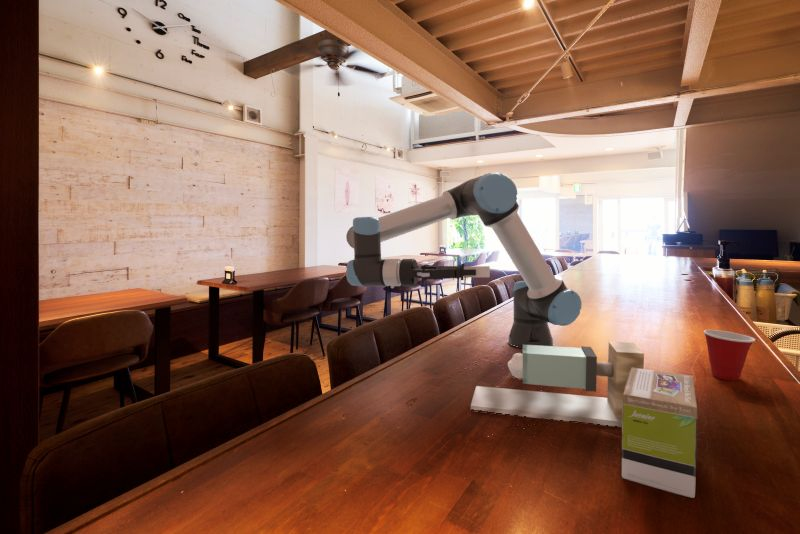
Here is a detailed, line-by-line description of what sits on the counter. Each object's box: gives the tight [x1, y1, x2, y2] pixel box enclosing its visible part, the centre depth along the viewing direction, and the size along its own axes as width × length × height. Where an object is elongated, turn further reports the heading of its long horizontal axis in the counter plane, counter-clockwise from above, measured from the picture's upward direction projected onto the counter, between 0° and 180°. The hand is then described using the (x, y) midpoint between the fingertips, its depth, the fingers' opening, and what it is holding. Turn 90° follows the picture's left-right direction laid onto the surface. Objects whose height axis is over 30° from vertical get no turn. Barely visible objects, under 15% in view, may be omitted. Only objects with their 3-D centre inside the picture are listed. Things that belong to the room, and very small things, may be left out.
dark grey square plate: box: [580, 346, 598, 393], centre depth 88 cm, size 2×8×8 cm, turn 163°
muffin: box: [507, 352, 523, 378], centre depth 110 cm, size 6×6×7 cm
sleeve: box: [522, 345, 586, 390], centre depth 90 cm, size 13×7×7 cm, turn 73°
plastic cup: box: [703, 329, 756, 381], centre depth 107 cm, size 11×11×12 cm
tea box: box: [621, 367, 698, 499], centre depth 68 cm, size 15×10×15 cm
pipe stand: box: [470, 341, 645, 428], centre depth 90 cm, size 36×12×15 cm, turn 73°
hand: (489, 271), depth 102 cm, fingers closed
